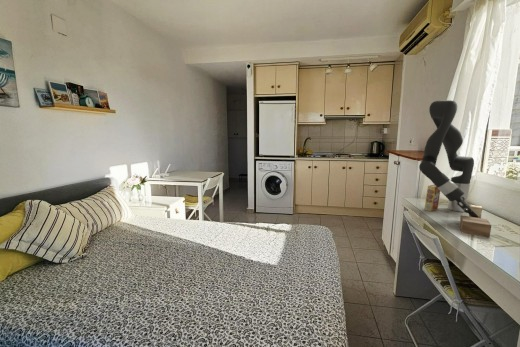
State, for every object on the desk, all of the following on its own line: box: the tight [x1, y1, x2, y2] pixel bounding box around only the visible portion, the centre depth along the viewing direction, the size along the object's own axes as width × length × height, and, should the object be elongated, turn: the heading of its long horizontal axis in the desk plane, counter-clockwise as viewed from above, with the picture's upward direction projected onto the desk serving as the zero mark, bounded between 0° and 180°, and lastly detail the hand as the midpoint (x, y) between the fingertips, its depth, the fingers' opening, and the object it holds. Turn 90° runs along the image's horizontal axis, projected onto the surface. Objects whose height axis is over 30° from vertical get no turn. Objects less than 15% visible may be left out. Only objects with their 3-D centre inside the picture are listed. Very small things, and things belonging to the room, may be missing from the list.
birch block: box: [468, 204, 483, 218], centre depth 127 cm, size 4×4×10 cm
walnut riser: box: [459, 214, 492, 238], centre depth 119 cm, size 10×10×6 cm
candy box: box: [424, 184, 441, 212], centre depth 154 cm, size 9×4×15 cm, turn 123°
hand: (476, 216), depth 127 cm, fingers open, 7 cm apart
